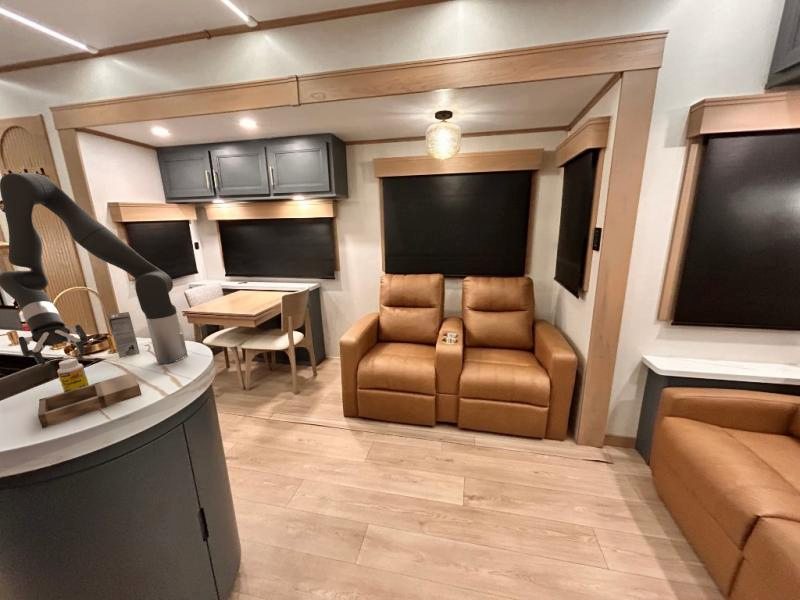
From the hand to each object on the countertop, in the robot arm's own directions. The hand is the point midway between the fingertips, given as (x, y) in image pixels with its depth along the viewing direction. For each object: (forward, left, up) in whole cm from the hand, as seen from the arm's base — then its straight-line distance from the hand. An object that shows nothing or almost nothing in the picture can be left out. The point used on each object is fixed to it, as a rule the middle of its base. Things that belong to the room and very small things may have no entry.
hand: (63, 358), depth 99 cm
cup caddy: (-4, +19, -10) cm, 22 cm away
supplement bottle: (-1, +5, -10) cm, 11 cm away
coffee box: (-17, -22, -10) cm, 30 cm away
